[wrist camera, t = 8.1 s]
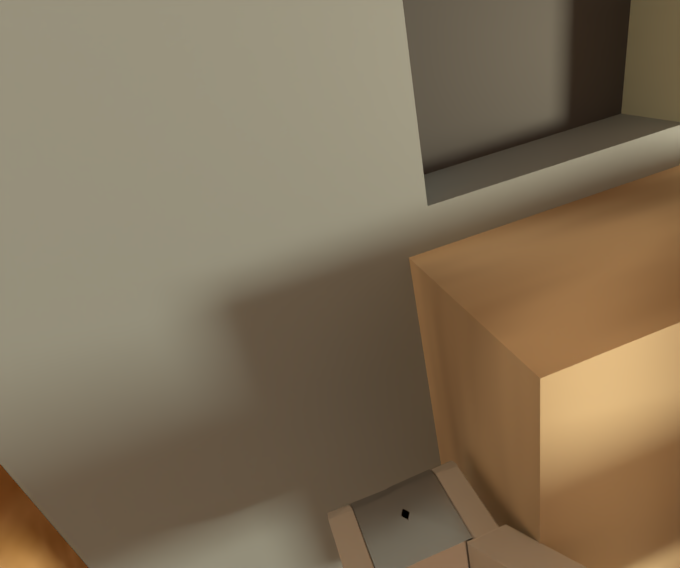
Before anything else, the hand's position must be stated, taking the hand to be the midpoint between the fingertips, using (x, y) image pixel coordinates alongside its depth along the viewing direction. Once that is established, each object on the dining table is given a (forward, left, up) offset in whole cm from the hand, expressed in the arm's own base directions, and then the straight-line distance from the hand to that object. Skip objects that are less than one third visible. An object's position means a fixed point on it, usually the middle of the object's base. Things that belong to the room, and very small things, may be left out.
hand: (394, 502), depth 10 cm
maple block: (-6, 0, -2) cm, 7 cm away
